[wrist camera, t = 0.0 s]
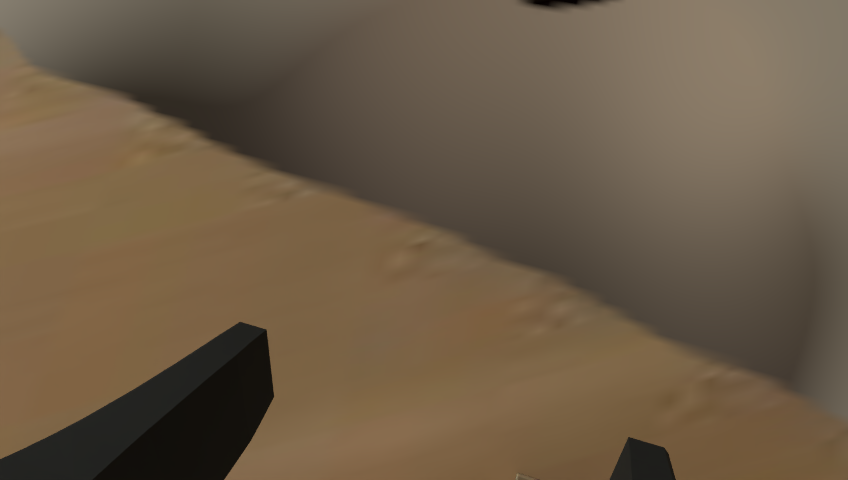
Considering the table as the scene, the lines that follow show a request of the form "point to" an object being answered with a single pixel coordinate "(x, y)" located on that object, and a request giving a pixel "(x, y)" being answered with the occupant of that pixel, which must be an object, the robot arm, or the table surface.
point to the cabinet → (524, 477)
